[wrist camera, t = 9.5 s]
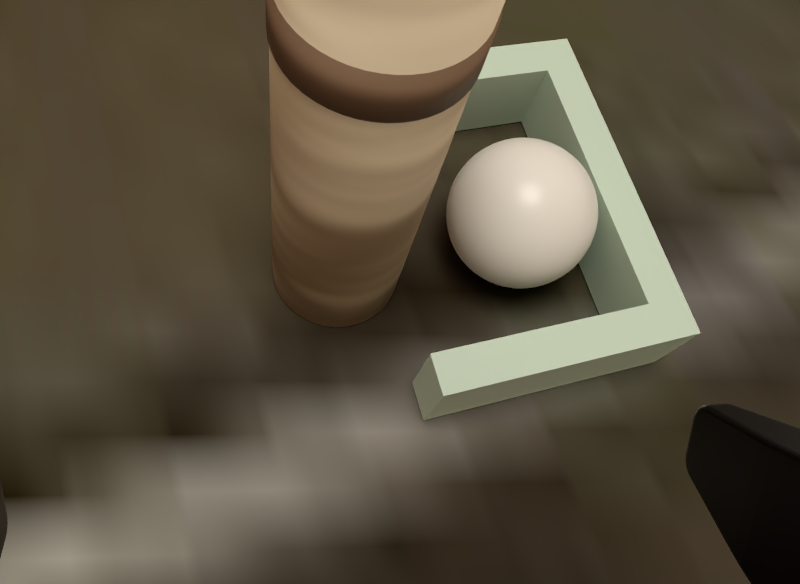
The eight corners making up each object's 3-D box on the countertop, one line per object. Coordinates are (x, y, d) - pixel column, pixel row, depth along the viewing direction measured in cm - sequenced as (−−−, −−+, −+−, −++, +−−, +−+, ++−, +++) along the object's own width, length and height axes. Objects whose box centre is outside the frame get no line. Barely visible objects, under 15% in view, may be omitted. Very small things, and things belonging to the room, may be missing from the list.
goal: (654, 362, 23) (700, 333, 21) (423, 420, 21) (443, 396, 19) (539, 91, 27) (567, 38, 24) (334, 119, 25) (341, 64, 22)
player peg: (421, 298, 23) (577, -27, 11) (303, 349, 21) (337, 42, 10) (364, 195, 24) (450, -199, 12) (249, 238, 23) (220, -158, 11)
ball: (489, 217, 18) (411, 282, 22) (631, 275, 20) (534, 326, 23) (504, 82, 20) (430, 163, 24) (632, 144, 22) (543, 211, 25)
